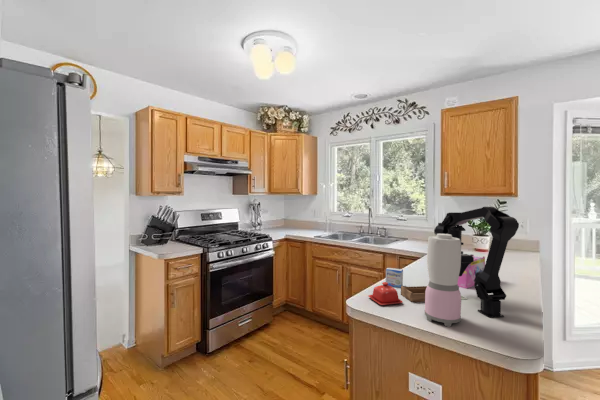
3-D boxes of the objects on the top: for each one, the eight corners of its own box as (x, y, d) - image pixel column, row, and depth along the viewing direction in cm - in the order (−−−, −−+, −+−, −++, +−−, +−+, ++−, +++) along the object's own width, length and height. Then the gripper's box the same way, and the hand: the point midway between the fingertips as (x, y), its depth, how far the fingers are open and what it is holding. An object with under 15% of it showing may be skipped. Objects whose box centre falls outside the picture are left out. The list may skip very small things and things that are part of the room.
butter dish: (380, 307, 121) (380, 287, 121) (366, 298, 132) (367, 279, 132) (404, 305, 124) (404, 285, 124) (389, 296, 135) (389, 277, 135)
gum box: (471, 277, 167) (471, 253, 167) (486, 281, 161) (487, 256, 160) (450, 284, 152) (451, 259, 152) (466, 289, 146) (467, 262, 146)
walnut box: (441, 301, 129) (441, 292, 128) (411, 302, 127) (411, 293, 127) (428, 293, 138) (428, 285, 138) (400, 294, 136) (400, 286, 136)
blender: (455, 330, 101) (457, 238, 100) (419, 319, 109) (421, 234, 108) (466, 316, 112) (468, 233, 112) (433, 307, 121) (435, 230, 120)
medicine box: (385, 285, 150) (385, 268, 149) (387, 283, 153) (387, 267, 153) (401, 288, 146) (401, 270, 146) (402, 285, 150) (403, 269, 150)
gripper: (426, 236, 142) (425, 268, 143) (451, 243, 124) (450, 279, 124) (447, 236, 144) (446, 268, 144) (475, 243, 125) (474, 279, 126)
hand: (453, 273), depth 134 cm, fingers open, 9 cm apart
